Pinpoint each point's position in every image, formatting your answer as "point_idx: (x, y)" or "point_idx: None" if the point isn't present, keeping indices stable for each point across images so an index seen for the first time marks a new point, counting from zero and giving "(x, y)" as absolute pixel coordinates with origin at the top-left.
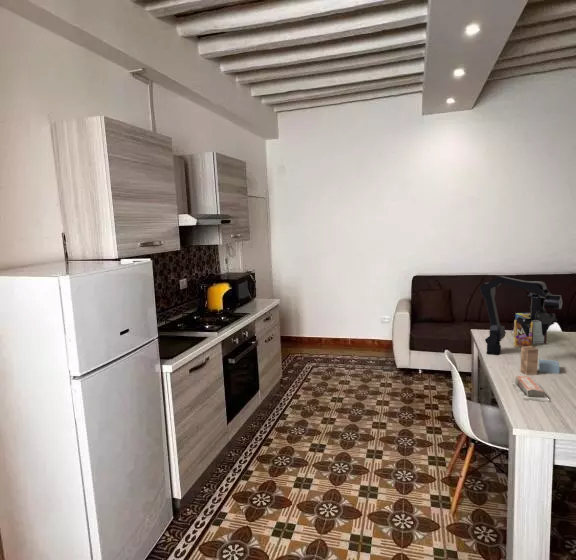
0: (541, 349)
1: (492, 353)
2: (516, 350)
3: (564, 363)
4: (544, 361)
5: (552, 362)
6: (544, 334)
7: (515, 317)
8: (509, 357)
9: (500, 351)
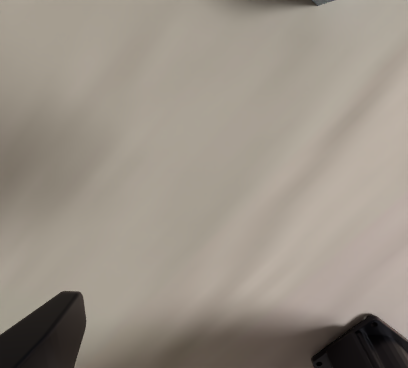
0: None
1: (401, 341)
2: (182, 355)
3: (28, 7)
4: None
5: None
6: (64, 307)
7: None
8: (344, 262)
9: (357, 342)
